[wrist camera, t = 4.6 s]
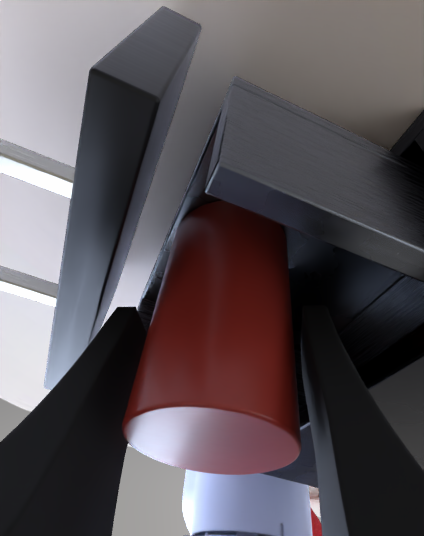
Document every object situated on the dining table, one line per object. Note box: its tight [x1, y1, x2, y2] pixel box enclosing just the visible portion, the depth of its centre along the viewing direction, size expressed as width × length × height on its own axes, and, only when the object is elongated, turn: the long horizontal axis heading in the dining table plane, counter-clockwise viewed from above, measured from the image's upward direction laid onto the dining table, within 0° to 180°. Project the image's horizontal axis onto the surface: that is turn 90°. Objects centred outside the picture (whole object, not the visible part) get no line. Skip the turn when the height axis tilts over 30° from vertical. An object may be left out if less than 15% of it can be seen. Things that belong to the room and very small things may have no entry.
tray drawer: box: [0, 6, 424, 407], centre depth 13 cm, size 17×12×6 cm
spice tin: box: [122, 201, 302, 475], centre depth 11 cm, size 4×4×8 cm
